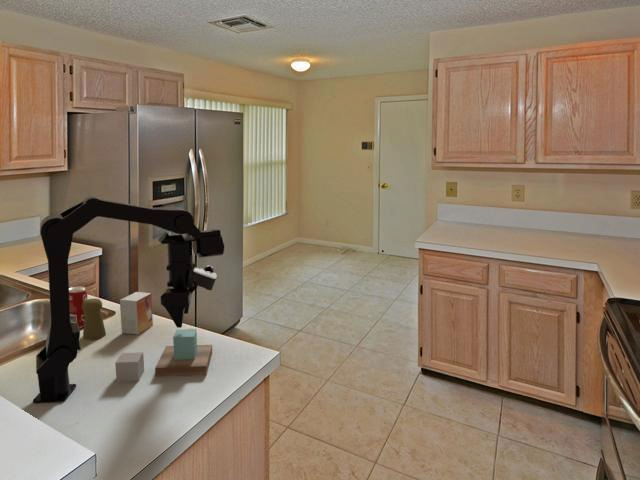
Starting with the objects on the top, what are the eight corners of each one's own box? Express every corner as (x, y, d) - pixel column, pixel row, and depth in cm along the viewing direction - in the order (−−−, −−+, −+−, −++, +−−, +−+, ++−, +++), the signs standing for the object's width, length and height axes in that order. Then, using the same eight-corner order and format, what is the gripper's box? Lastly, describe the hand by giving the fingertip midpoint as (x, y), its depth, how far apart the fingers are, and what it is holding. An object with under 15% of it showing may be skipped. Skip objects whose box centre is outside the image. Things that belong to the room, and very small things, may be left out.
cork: (83, 333, 129) (80, 297, 127) (106, 330, 131) (103, 295, 129) (82, 341, 124) (78, 304, 121) (106, 338, 126) (103, 301, 124)
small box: (138, 335, 128) (136, 301, 126) (121, 333, 129) (118, 299, 127) (153, 325, 136) (151, 292, 134) (137, 323, 137) (135, 291, 135)
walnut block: (206, 377, 107) (206, 366, 106) (155, 379, 105) (155, 367, 105) (212, 355, 119) (212, 344, 118) (166, 356, 117) (166, 346, 116)
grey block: (138, 381, 103) (137, 361, 102) (116, 382, 103) (115, 362, 102) (144, 370, 108) (143, 352, 107) (123, 371, 108) (121, 353, 107)
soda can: (85, 321, 138) (82, 284, 136) (92, 325, 135) (89, 288, 132) (67, 325, 134) (64, 288, 132) (74, 330, 131) (71, 292, 128)
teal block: (194, 358, 110) (194, 336, 109) (174, 360, 109) (173, 337, 108) (197, 350, 115) (196, 328, 113) (177, 351, 114) (176, 329, 113)
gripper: (209, 269, 98) (211, 334, 102) (217, 251, 117) (219, 306, 120) (158, 270, 97) (161, 335, 100) (174, 251, 115) (177, 307, 118)
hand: (182, 320), depth 110 cm, fingers open, 9 cm apart
